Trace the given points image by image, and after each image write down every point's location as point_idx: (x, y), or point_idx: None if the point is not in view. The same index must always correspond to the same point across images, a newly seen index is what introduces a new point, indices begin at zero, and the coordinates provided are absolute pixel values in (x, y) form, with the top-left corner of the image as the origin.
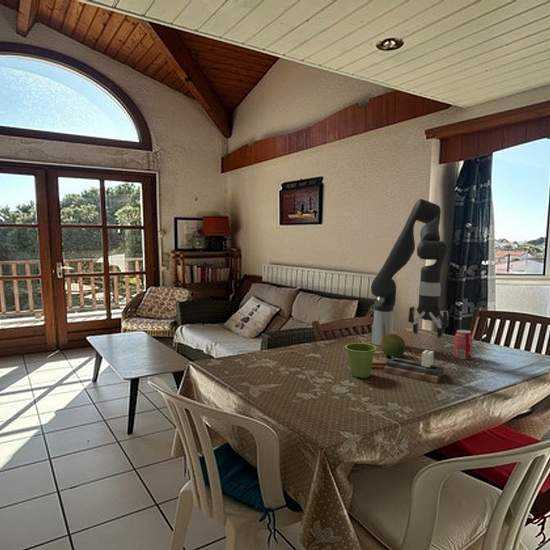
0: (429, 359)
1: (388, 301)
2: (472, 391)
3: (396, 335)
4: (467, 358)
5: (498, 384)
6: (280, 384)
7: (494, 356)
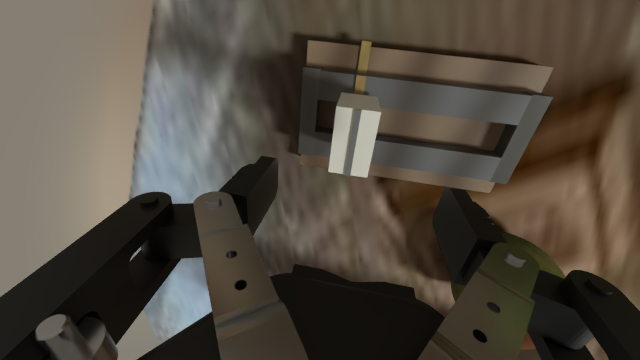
0: (339, 100)
1: None
2: (187, 19)
3: None
4: None
5: (156, 137)
6: None
7: None
